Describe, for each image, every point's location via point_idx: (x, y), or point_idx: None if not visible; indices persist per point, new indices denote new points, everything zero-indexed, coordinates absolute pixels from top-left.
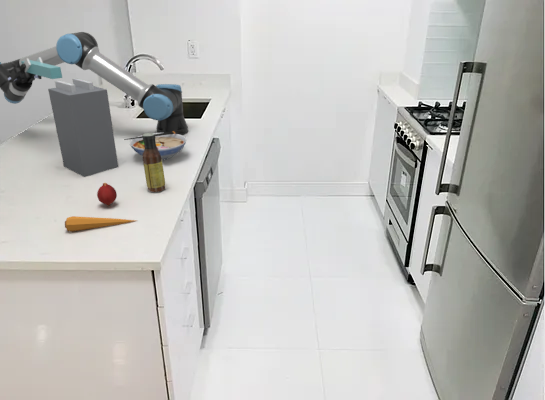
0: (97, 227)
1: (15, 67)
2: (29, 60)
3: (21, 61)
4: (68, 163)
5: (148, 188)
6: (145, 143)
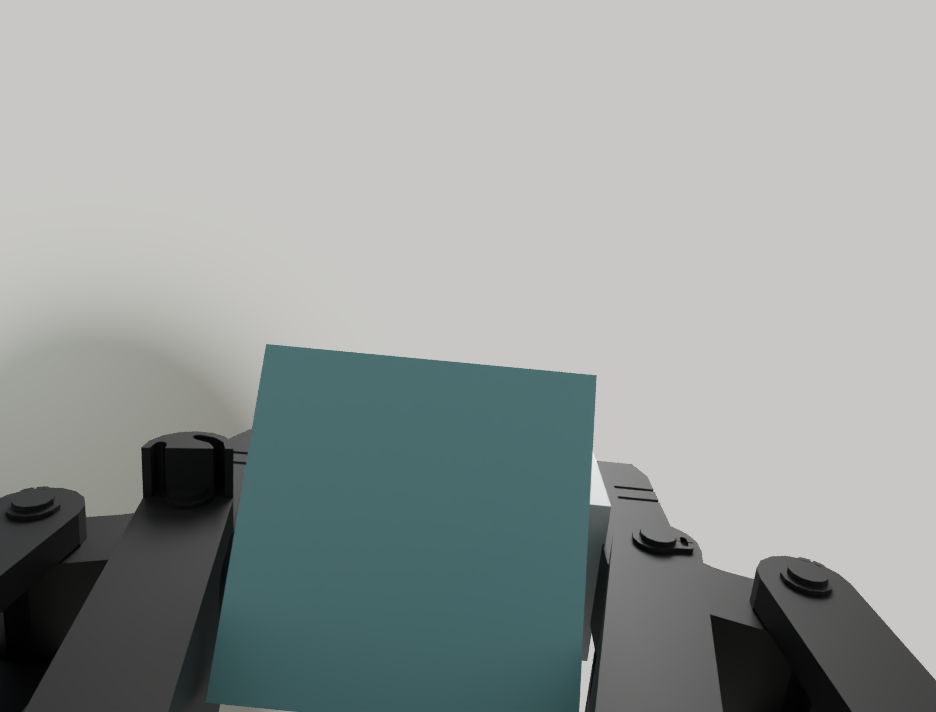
0: None
1: (804, 568)
2: (342, 359)
3: (591, 391)
4: None
5: None
6: None
